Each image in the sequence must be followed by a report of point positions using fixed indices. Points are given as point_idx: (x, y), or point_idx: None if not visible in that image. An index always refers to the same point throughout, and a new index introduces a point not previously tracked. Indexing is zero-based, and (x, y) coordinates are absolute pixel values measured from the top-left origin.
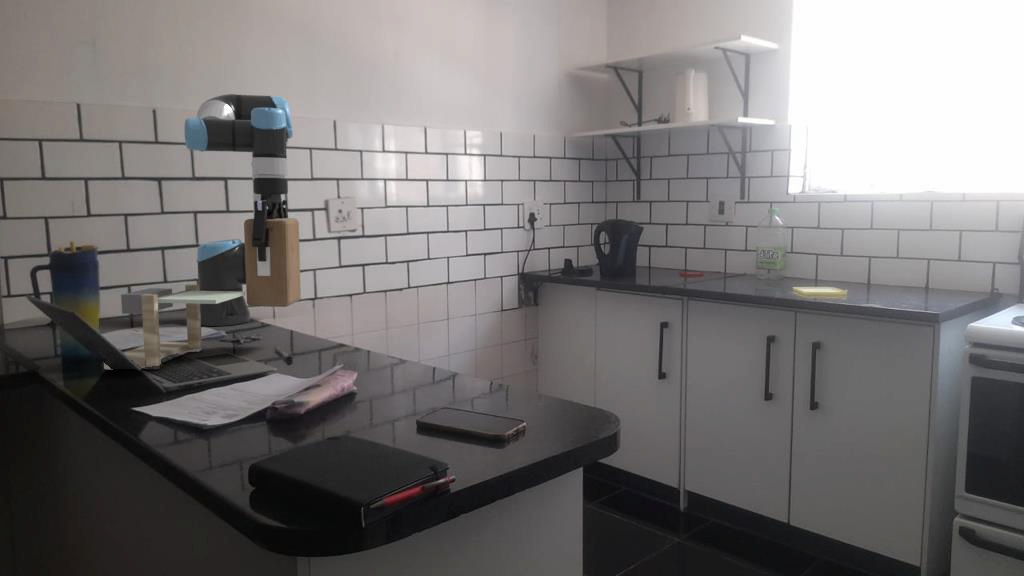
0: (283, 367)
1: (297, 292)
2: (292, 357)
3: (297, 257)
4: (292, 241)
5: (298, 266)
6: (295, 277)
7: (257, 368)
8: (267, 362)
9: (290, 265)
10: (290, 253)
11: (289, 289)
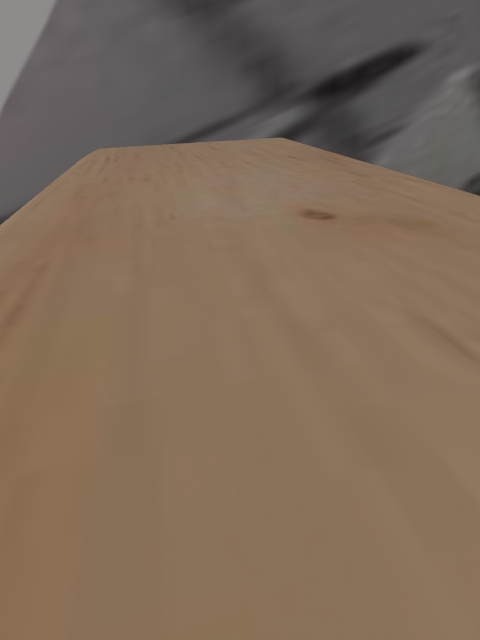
0: (447, 56)
1: (154, 149)
2: (321, 80)
3: (122, 202)
4: (405, 269)
5: (103, 182)
6: (194, 161)
7: (441, 132)
8: (378, 135)
9: (344, 171)
10: (400, 198)
11: (307, 145)
